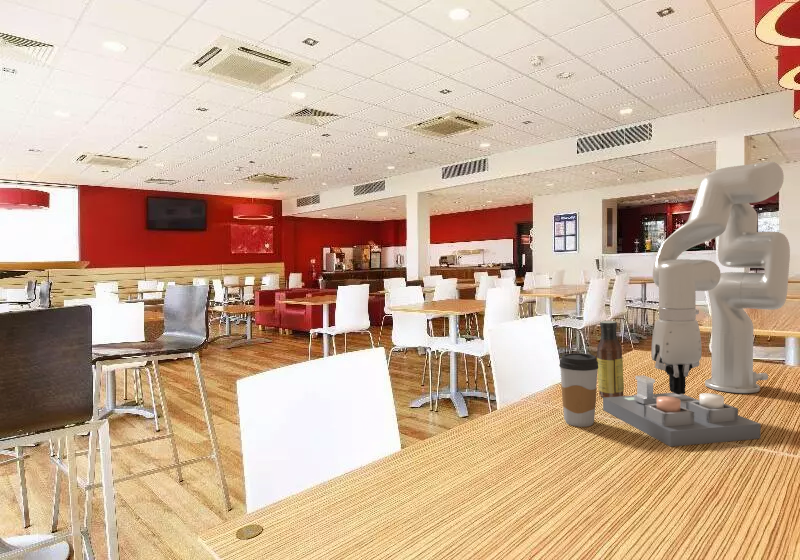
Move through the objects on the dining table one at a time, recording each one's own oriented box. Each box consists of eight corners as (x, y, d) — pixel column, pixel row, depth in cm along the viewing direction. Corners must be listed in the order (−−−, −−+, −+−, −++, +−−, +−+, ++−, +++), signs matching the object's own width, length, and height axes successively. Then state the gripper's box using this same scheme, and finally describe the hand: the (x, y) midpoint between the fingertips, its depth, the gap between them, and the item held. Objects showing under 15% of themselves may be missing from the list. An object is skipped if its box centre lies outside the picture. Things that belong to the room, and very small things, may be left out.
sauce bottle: (619, 393, 137) (619, 319, 136) (627, 399, 131) (627, 323, 130) (594, 393, 138) (593, 320, 137) (601, 399, 132) (600, 323, 131)
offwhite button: (712, 403, 110) (712, 392, 110) (728, 409, 106) (729, 398, 106) (694, 404, 110) (694, 393, 109) (709, 411, 105) (710, 399, 105)
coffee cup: (600, 418, 117) (599, 353, 116) (597, 430, 110) (597, 361, 109) (562, 414, 121) (561, 351, 120) (557, 425, 113) (556, 358, 112)
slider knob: (645, 398, 121) (646, 375, 120) (656, 403, 117) (657, 379, 117) (633, 399, 120) (633, 376, 120) (644, 404, 116) (644, 380, 116)
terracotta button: (670, 406, 109) (670, 395, 109) (685, 413, 104) (685, 401, 104) (651, 408, 108) (652, 397, 108) (665, 414, 104) (665, 402, 104)
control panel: (677, 404, 127) (678, 382, 126) (760, 438, 103) (760, 411, 103) (603, 409, 124) (603, 387, 123) (670, 446, 100) (670, 418, 100)
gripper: (694, 311, 124) (694, 385, 125) (637, 315, 121) (638, 390, 123) (718, 315, 116) (718, 394, 118) (658, 319, 114) (658, 400, 115)
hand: (677, 392), depth 120 cm, fingers closed
